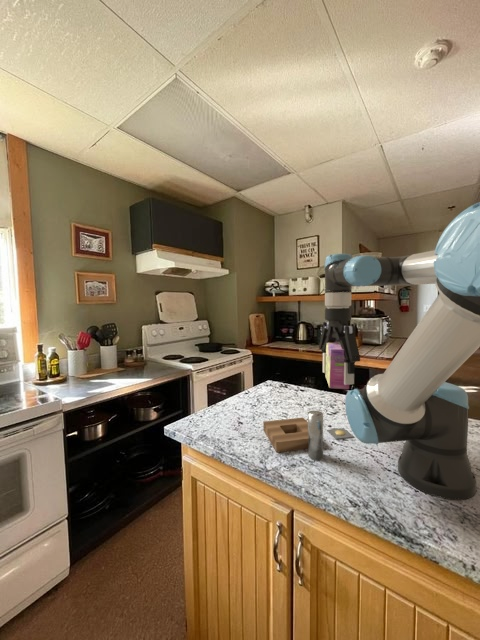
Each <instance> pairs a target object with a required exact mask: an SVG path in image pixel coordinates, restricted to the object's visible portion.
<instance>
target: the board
mask: <svg viewBox="0 0 480 640" xmlns="http://www.w3.org/2000/svg"><path fill="white" fill-rule="evenodd" d="M262 423H263V424H262V425H263V428H262V429H263V432H264V434H265V435H266V437H267V439H268V440H269V442H270V444H271V446H272V447H273V450H274V451H275V453H284V452H292V451H300V450H308V420H306V419H305V417H295V418H286V419H276V420H275V419H274V420H266V421H262Z"/></svg>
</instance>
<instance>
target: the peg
mask: <svg viewBox="0 0 480 640" xmlns="http://www.w3.org/2000/svg"><path fill="white" fill-rule="evenodd" d="M307 422H308V449H307V452H308V453H307V455H308V457H309V459H310V460H315V461H319V460H320V461H321V460H322V459H324V413H323V412H322V411H319V410H309V411H308V412H307Z"/></svg>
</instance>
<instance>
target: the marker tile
mask: <svg viewBox="0 0 480 640" xmlns="http://www.w3.org/2000/svg"><path fill="white" fill-rule="evenodd" d="M326 432H328V433H329V435H331V437H333V438H334V439H335V440H336V441H337V440H343V439H344V440H345V439H353V438H355V435H354V434H352V433H350V432H349V431H348V430H347V429H346V428H344V427H341V428H332V429H326Z"/></svg>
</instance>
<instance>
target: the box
mask: <svg viewBox="0 0 480 640" xmlns="http://www.w3.org/2000/svg"><path fill="white" fill-rule="evenodd" d="M345 360H346V359H345V356H344V349H342V348H341V345H340V342H339V341H334V342H328V343H327V345H326V372H325V373H324V374H325V375H324V376H325V379H326V381H327V384H328V388H329V389H336V390H337V389H339V390H349V389H350V385H345V384H344V361H345Z"/></svg>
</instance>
